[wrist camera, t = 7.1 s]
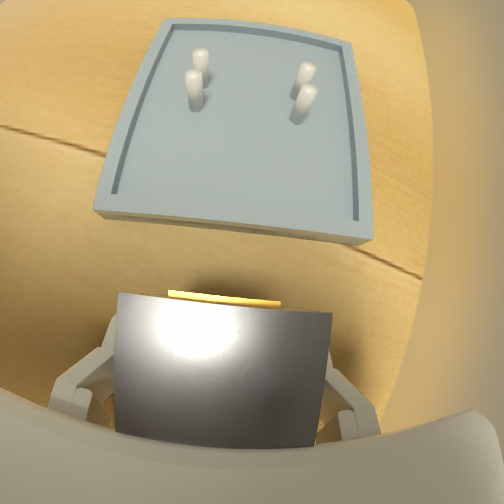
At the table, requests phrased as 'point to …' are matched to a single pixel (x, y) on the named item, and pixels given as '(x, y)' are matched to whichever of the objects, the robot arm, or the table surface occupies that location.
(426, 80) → the table surface
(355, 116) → the tray
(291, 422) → the drive
